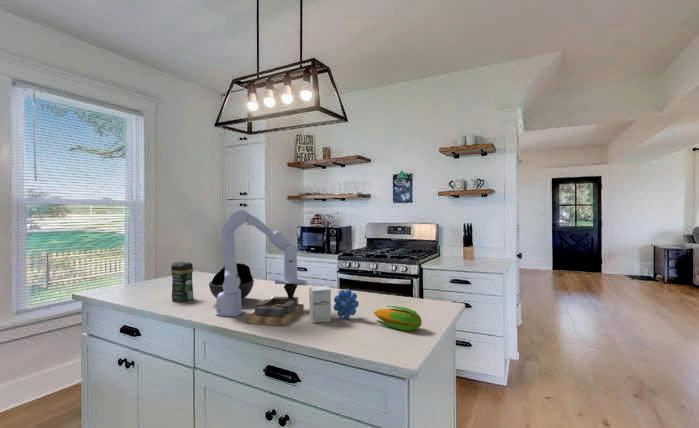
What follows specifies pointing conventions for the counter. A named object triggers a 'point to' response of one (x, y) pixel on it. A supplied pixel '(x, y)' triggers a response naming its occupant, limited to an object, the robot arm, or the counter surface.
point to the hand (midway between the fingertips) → (291, 301)
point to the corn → (399, 318)
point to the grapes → (345, 303)
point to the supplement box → (320, 304)
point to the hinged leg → (283, 300)
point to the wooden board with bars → (274, 313)
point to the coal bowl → (243, 274)
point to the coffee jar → (182, 281)
